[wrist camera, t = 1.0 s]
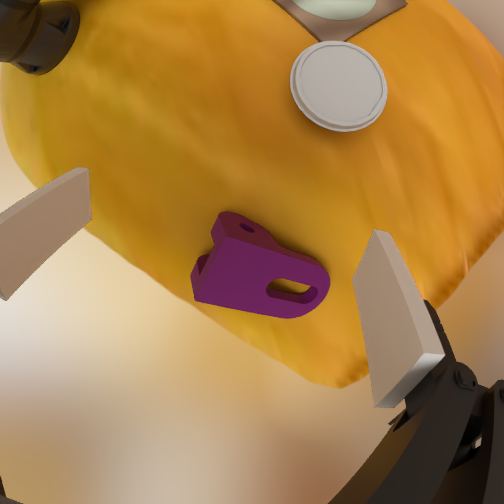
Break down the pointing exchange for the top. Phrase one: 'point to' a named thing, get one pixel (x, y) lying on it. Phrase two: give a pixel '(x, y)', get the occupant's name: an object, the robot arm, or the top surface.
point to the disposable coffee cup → (338, 86)
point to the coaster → (338, 15)
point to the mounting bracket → (255, 271)
